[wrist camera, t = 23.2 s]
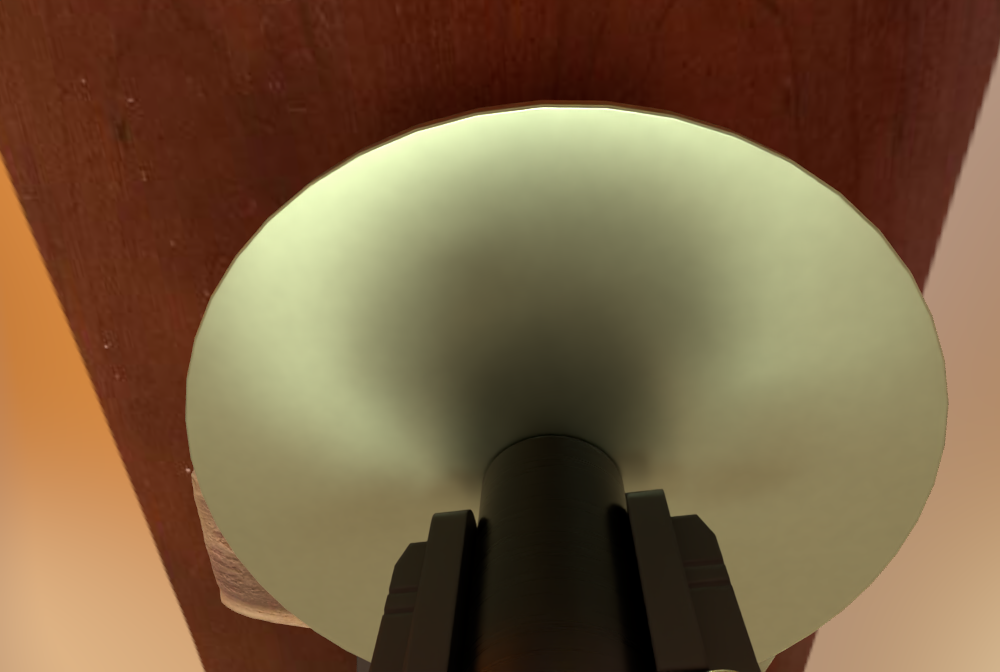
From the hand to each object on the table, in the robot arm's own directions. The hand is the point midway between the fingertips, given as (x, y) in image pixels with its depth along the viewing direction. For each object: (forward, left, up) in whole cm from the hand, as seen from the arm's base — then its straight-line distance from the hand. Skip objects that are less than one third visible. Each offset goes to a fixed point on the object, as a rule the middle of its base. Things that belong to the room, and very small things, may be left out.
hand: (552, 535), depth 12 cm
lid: (0, 0, -2) cm, 2 cm away
